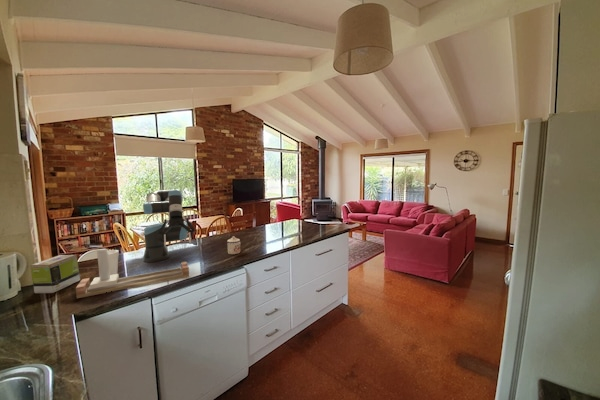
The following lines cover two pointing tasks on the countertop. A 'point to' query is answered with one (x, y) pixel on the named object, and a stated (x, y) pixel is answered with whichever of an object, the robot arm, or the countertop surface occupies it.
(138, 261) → the countertop surface
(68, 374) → the countertop surface
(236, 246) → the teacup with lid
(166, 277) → the rail
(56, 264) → the tea box
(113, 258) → the foam cup
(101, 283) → the carriage
